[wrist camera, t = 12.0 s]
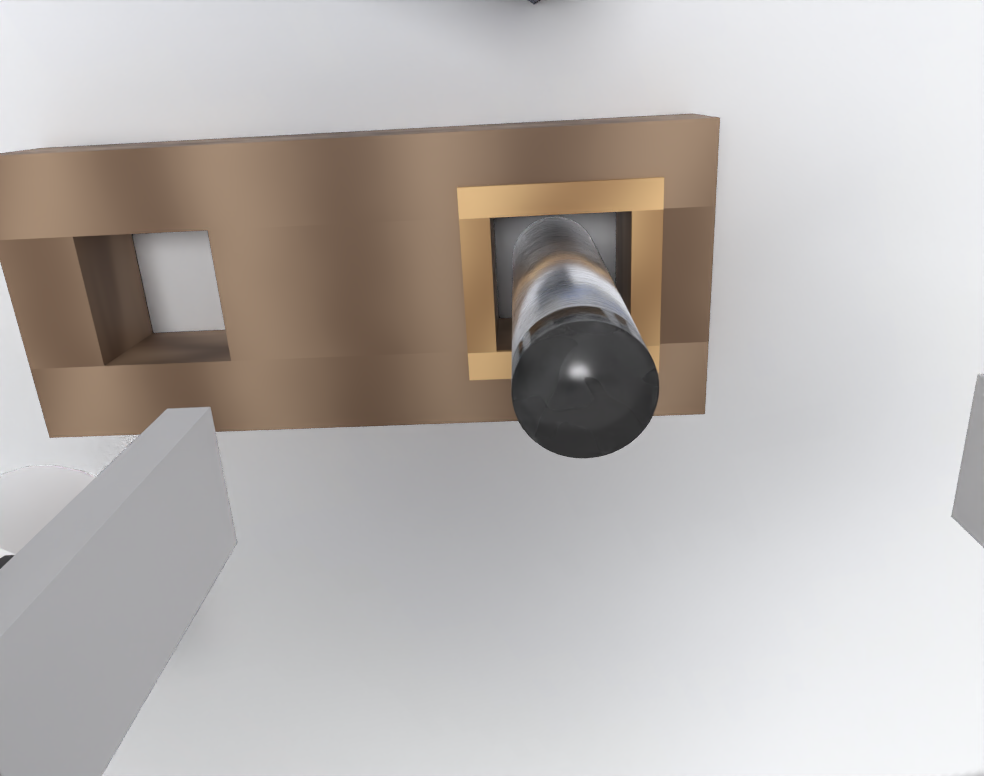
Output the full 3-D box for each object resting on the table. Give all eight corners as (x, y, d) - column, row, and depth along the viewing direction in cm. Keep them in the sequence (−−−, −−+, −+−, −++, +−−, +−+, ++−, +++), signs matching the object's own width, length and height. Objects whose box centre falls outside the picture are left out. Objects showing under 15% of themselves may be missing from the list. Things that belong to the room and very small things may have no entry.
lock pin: (514, 300, 31) (514, 460, 18) (510, 218, 29) (508, 324, 16) (596, 297, 30) (657, 455, 17) (595, 214, 29) (661, 317, 16)
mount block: (102, 397, 33) (46, 439, 29) (41, 148, 29) (-34, 157, 25) (682, 375, 31) (706, 416, 28) (692, 113, 28) (721, 117, 24)
